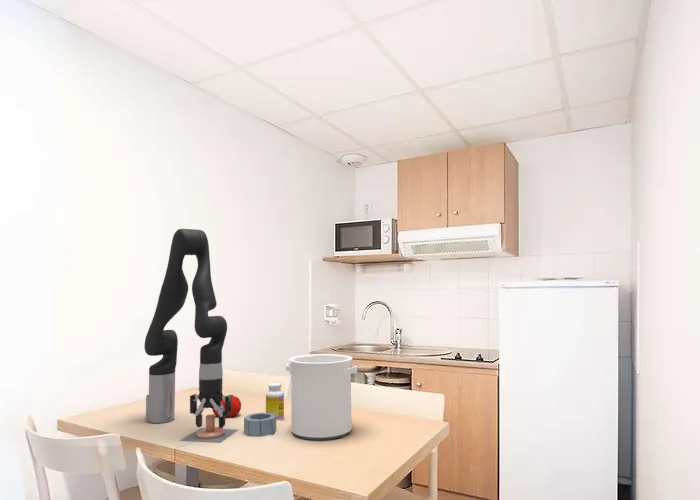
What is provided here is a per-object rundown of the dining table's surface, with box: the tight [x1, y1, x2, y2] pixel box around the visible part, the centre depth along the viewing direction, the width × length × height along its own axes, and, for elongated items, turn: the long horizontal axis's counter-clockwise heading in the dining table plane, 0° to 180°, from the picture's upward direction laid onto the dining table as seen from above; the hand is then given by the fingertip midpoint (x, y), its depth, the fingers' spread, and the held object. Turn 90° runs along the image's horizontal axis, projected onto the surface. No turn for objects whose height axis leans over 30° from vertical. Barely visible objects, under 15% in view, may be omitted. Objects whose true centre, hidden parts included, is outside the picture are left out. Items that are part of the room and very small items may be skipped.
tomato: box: [211, 394, 242, 419], centre depth 184 cm, size 11×11×8 cm
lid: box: [196, 414, 225, 439], centre depth 158 cm, size 9×9×6 cm
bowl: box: [243, 412, 277, 437], centre depth 161 cm, size 10×10×6 cm
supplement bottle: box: [265, 382, 285, 421], centre depth 178 cm, size 7×7×13 cm
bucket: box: [285, 353, 358, 441], centre depth 163 cm, size 26×22×24 cm
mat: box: [179, 427, 239, 444], centre depth 158 cm, size 14×14×1 cm
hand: (210, 427), depth 158 cm, fingers open, 7 cm apart
